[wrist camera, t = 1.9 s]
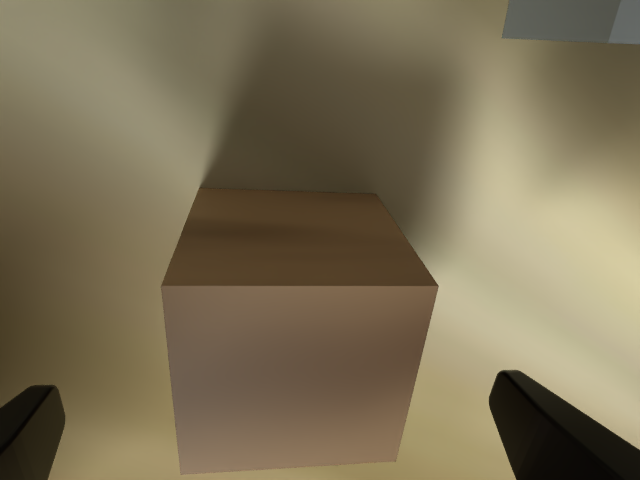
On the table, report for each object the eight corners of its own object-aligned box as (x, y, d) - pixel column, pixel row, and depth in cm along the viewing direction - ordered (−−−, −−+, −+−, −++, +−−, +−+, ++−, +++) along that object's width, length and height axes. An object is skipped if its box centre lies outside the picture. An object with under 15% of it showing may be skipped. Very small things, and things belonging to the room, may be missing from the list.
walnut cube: (355, 328, 15) (395, 461, 10) (206, 331, 14) (180, 474, 9) (375, 193, 12) (438, 286, 8) (199, 186, 12) (161, 285, 7)
